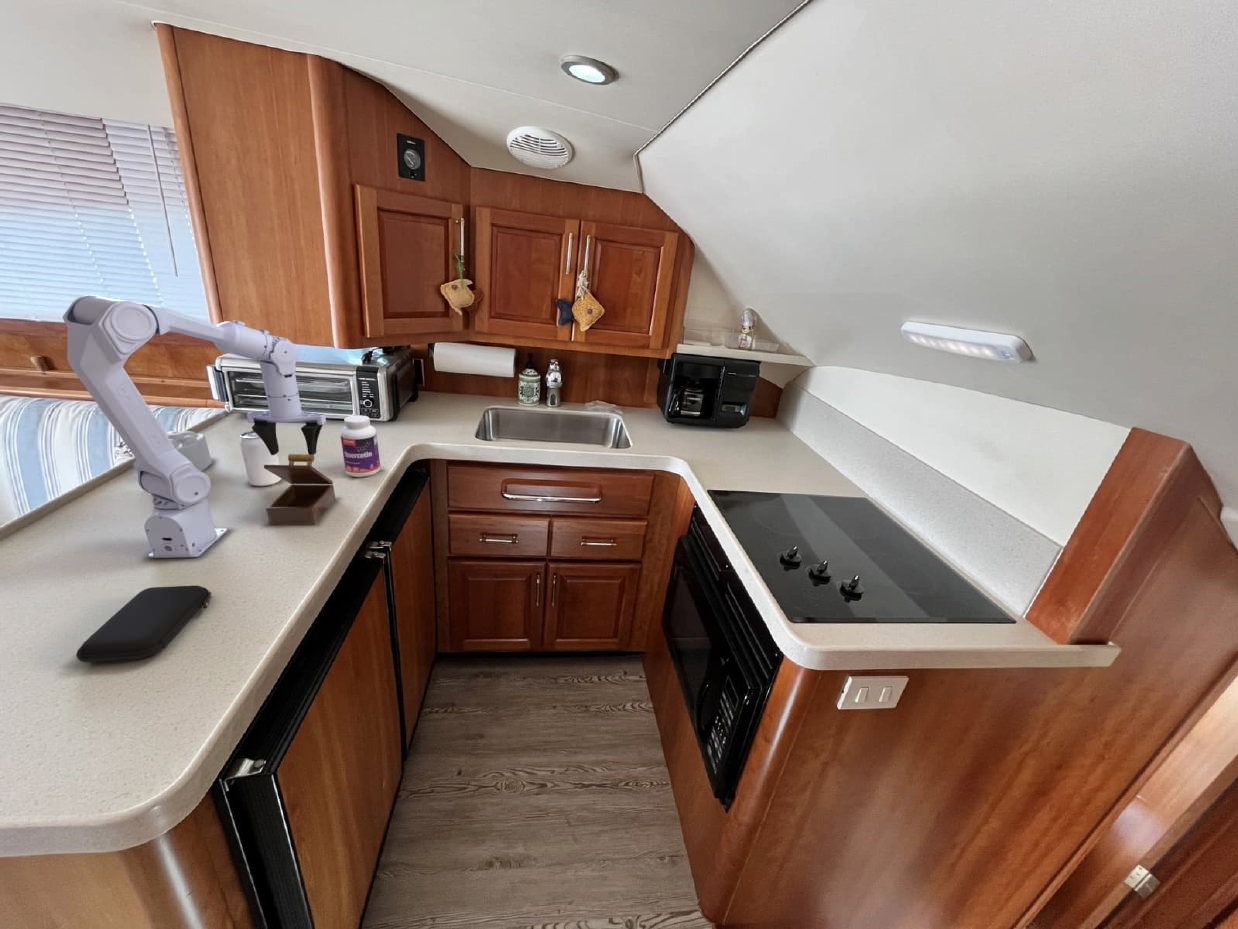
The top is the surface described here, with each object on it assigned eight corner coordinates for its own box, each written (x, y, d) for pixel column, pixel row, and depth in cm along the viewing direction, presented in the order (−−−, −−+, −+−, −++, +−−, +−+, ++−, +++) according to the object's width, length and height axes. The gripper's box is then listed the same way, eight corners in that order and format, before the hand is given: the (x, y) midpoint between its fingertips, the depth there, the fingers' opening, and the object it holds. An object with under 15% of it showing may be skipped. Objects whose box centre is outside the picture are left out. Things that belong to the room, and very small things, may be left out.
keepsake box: (315, 524, 101) (312, 508, 100) (269, 524, 100) (265, 508, 98) (335, 499, 112) (333, 484, 110) (294, 499, 110) (291, 484, 109)
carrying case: (165, 663, 67) (224, 595, 80) (159, 646, 65) (220, 579, 79) (71, 670, 64) (148, 598, 78) (63, 652, 63) (142, 583, 77)
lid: (310, 468, 99) (313, 446, 100) (263, 468, 97) (267, 445, 99) (332, 484, 110) (335, 464, 111) (290, 484, 108) (294, 464, 110)
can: (266, 488, 114) (255, 440, 109) (242, 484, 115) (230, 436, 110) (288, 478, 119) (279, 431, 115) (266, 473, 120) (255, 427, 116)
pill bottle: (342, 479, 121) (333, 424, 115) (349, 466, 128) (342, 413, 123) (378, 478, 123) (371, 423, 118) (383, 465, 130) (377, 413, 125)
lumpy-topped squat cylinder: (217, 459, 126) (209, 427, 122) (188, 480, 114) (178, 446, 111) (170, 459, 124) (160, 427, 120) (135, 481, 112) (123, 446, 109)
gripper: (327, 390, 108) (336, 448, 113) (254, 387, 105) (267, 446, 110) (313, 399, 101) (323, 459, 106) (235, 396, 99) (250, 458, 104)
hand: (294, 453), depth 108 cm, fingers open, 7 cm apart
